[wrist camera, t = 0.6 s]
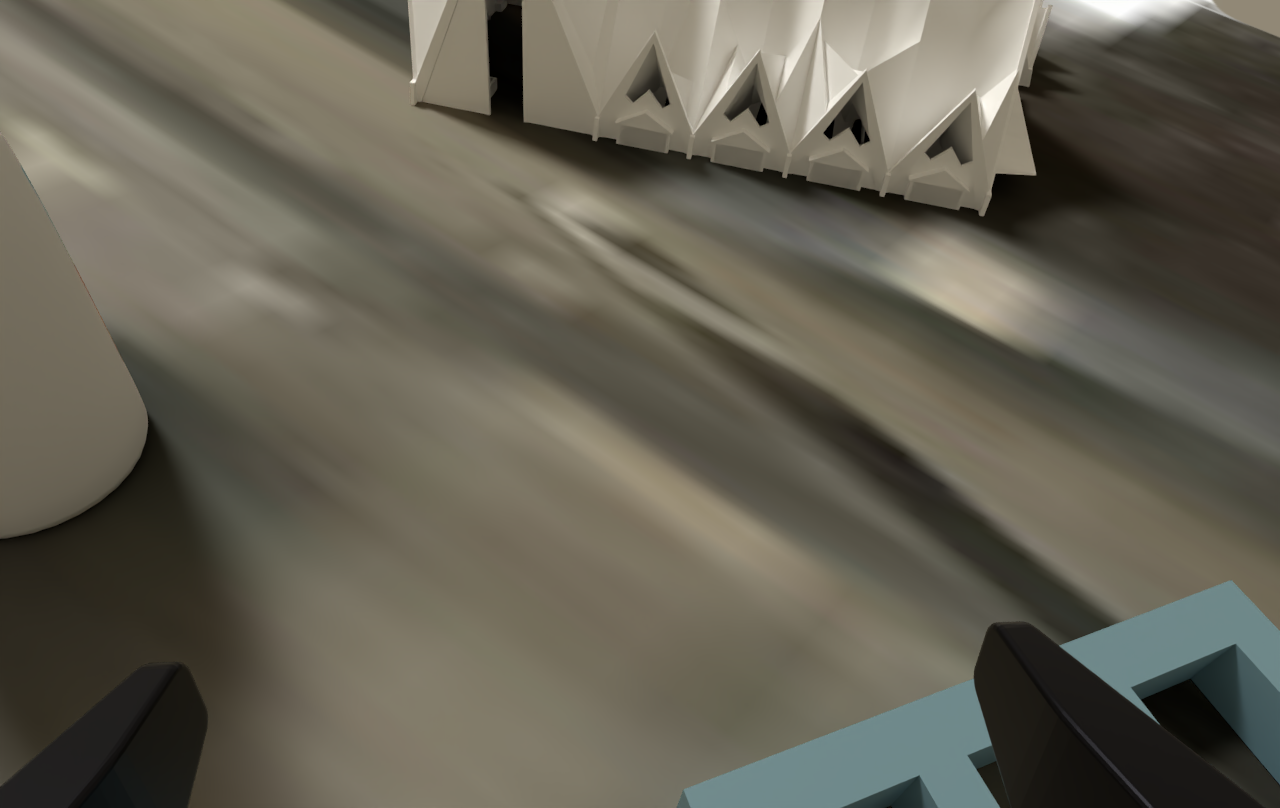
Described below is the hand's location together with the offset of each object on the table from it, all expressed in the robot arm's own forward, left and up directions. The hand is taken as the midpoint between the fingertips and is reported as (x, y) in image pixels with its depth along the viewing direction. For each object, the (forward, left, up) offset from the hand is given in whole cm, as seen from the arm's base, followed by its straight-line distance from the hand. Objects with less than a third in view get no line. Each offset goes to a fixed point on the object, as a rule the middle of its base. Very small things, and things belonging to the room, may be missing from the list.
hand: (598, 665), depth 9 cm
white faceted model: (+46, -27, -17) cm, 56 cm away
